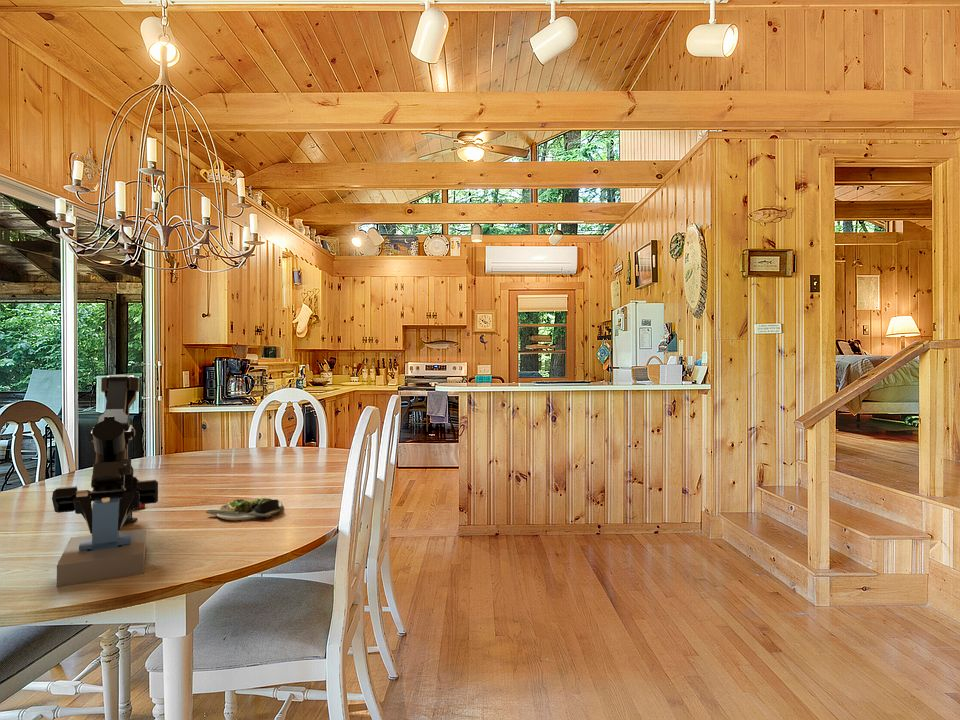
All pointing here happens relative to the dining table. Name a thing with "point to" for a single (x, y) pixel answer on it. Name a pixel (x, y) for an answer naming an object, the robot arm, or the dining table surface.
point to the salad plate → (248, 509)
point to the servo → (105, 526)
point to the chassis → (101, 560)
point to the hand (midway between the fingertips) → (105, 531)
